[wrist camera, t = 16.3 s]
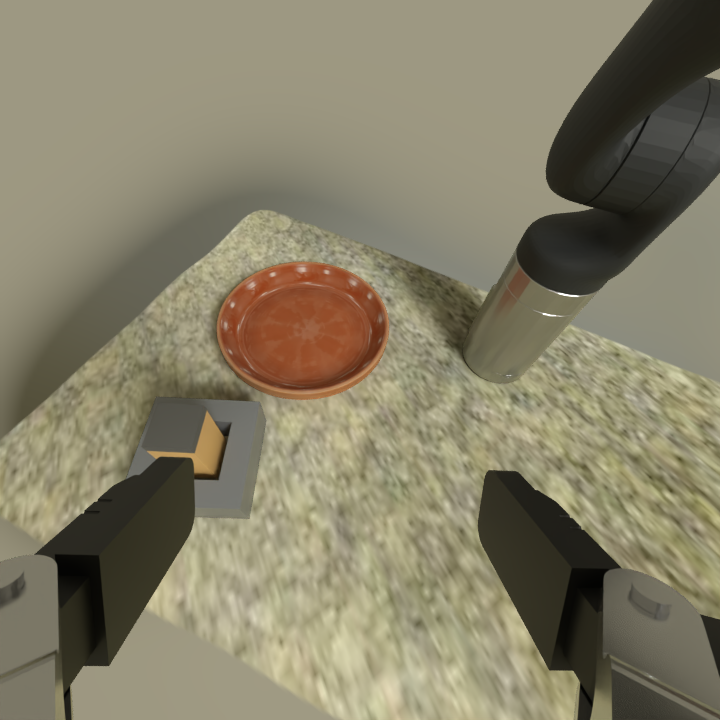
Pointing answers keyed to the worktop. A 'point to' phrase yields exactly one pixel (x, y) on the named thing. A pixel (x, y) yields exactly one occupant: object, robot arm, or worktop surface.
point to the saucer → (302, 330)
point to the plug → (187, 438)
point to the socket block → (240, 461)
